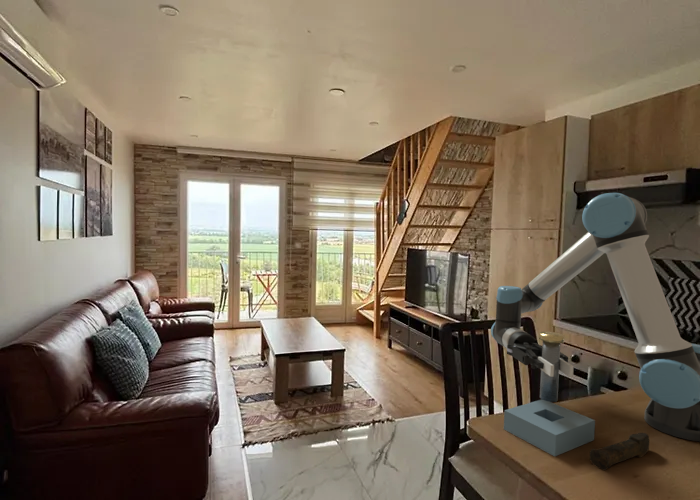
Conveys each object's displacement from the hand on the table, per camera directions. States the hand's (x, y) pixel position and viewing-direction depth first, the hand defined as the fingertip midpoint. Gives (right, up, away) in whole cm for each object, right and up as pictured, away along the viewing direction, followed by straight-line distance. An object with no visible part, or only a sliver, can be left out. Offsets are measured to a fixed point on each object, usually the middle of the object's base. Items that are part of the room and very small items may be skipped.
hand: (561, 371), depth 93 cm
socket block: (0, -18, +6) cm, 19 cm away
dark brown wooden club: (+12, -19, -3) cm, 23 cm away
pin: (0, -9, +6) cm, 10 cm away
